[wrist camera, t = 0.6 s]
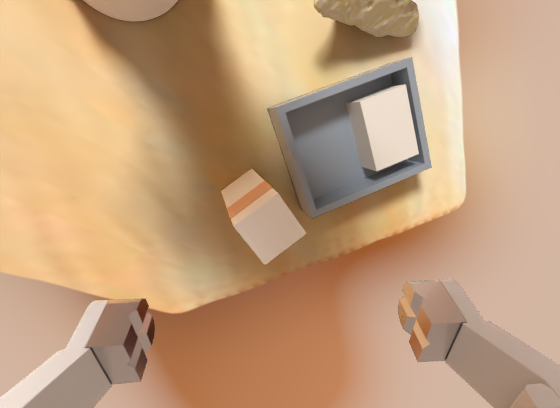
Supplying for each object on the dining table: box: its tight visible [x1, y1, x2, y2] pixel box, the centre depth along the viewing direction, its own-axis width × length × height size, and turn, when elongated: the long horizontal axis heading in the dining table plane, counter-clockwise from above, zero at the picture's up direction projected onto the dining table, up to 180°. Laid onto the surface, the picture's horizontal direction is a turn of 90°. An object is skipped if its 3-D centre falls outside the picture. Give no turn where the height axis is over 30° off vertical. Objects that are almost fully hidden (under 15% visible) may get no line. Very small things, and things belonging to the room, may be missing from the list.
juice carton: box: [221, 168, 307, 265], centre depth 40 cm, size 6×6×16 cm
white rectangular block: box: [345, 84, 419, 171], centre depth 47 cm, size 10×7×4 cm
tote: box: [267, 57, 431, 218], centre depth 47 cm, size 16×20×5 cm
